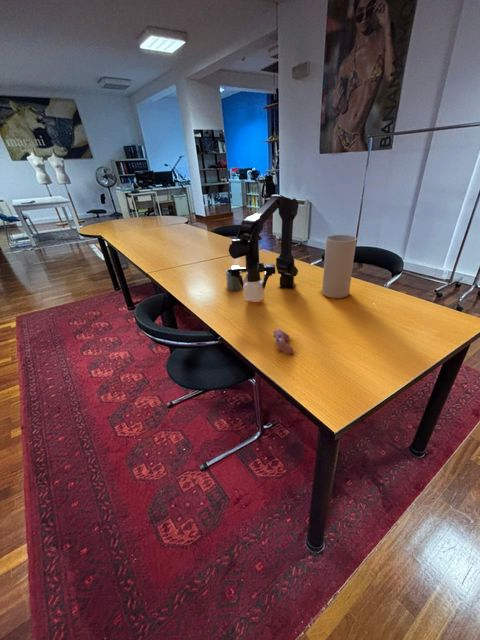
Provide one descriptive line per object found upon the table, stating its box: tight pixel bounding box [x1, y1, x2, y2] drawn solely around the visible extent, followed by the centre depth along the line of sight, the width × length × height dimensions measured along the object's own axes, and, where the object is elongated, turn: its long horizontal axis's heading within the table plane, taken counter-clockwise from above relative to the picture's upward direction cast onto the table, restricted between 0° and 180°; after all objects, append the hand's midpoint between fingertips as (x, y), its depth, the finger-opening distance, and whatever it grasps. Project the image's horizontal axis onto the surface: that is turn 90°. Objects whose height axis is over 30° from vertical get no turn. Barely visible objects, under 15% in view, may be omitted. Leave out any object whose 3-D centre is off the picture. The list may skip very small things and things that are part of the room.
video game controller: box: [272, 329, 294, 355], centre depth 99 cm, size 10×5×7 cm, turn 5°
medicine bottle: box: [242, 272, 265, 303], centre depth 128 cm, size 7×7×12 cm
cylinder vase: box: [321, 234, 358, 299], centre depth 132 cm, size 12×12×25 cm
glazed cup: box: [225, 268, 243, 292], centre depth 145 cm, size 7×7×9 cm
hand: (253, 289), depth 129 cm, fingers closed on medicine bottle, 8 cm apart
